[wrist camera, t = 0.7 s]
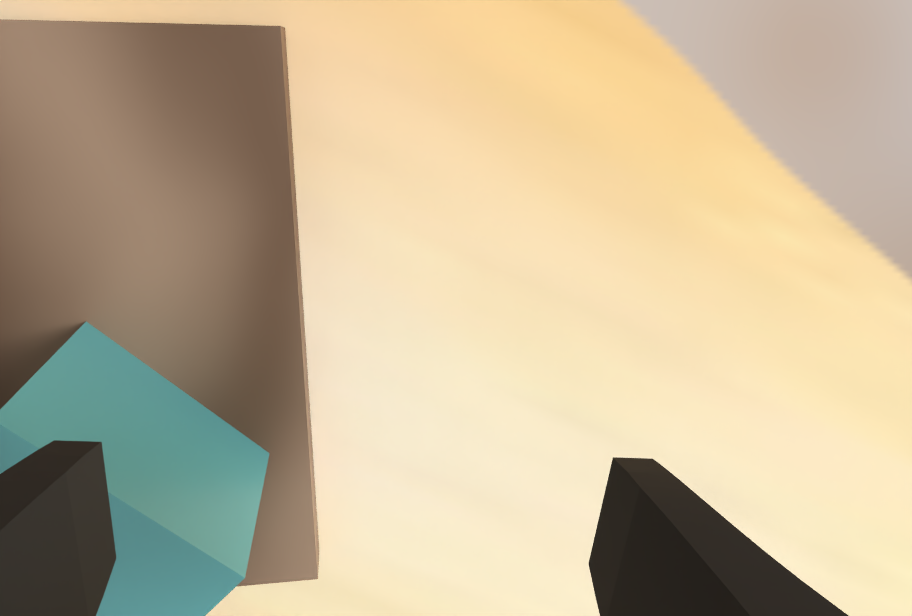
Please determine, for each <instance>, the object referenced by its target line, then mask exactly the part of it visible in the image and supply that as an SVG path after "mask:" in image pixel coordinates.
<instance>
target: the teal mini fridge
mask: <svg viewBox="0 0 912 616" xmlns="http://www.w3.org/2000/svg"><path fill="white" fill-rule="evenodd" d="M54 440H61V441H94V442H102V449H103V456H104V464H105V472H106V480H107V488H108V495H109V503H110V511H111V519H112V527H113V535H114V542H115V550H116V561H115V564H114V567H113V570H112V573H111V575H110V578H109V581H108V584H107V587H106V590H105V593H104V596H103V598H102V601H101V604H100V606H99V609H98V612H97V614H96V616H205V615H206V614H207V613H208V612H209V611H211V610H212V609H213V608H214V607H215V606H216V605H217V604H218V603H219V602H220V601H221V600H222V599H223V598H224V597H225V596H226V595H227V594H229V593H230V592H231V591H232V590H233V589H234V588H235V587H236V586H237V585H238V584H239V583H240V582H241V581H242V580H243V579H244V578H245V575H246V570H247V565H248V560H249V555H250V550H251V545H252V540H253V535H254V530H255V524H256V519H257V514H258V509H259V504H260V499H261V494H262V489H263V484H264V479H265V474H266V469H267V464H268V459H269V453H268V452H267V451H266V450H264V449H263V448H261V447H260V446H259V445H257V444H256V443H255V442H253V441H252V440H250V439H249V438H248V437H246V436H245V435H243V434H242V433H241V432H239V431H238V430H236V429H235V428H234V427H232V426H231V425H230V424H228V423H227V422H225V421H224V420H223V419H221V418H220V417H218V416H217V415H216V414H214V413H213V412H211V411H210V410H209V409H207V408H206V407H205V406H203V405H202V404H200V403H199V402H198V401H196V400H195V399H193V398H192V397H191V396H189V395H188V394H186V393H185V392H184V391H182V390H181V389H179V388H178V387H177V386H175V385H174V384H173V383H171V382H170V381H168V380H167V379H166V378H164V377H163V376H161V375H160V374H159V373H157V372H156V371H154V370H153V369H152V368H150V367H149V366H148V365H146V364H145V363H143V362H142V361H141V360H139V359H138V358H136V357H135V356H134V355H132V354H131V353H129V352H128V351H127V350H125V349H124V348H123V347H121V346H120V345H118V344H117V343H116V342H114V341H113V340H111V339H110V338H109V337H107V336H106V335H104V334H103V333H102V332H100V331H99V330H98V329H96V328H95V327H93V326H92V325H91V324H89V323H88V322H85V323H84V324H83V325H82V326H81V327H80V328H79V329H78V330H77V331H76V332H75V333H74V334H73V335H72V336H71V337H70V338H69V340H68V341H67V342H66V343H65V344H64V345H63V346H62V347H61V348H60V349H59V350H58V351H57V352H56V353H55V354H54V355H53V356H52V357H51V358H50V359H49V360H48V361H47V362H46V363H45V364H44V365H43V366H42V367H41V368H40V369H39V370H38V371H37V372H36V373H35V374H34V375H33V376H32V377H31V378H30V379H29V380H28V382H27V383H26V384H25V385H24V386H23V387H22V388H21V389H20V390H19V391H18V392H17V393H16V394H15V395H14V396H13V397H12V398H11V399H10V400H9V401H8V402H7V403H6V404H5V405H4V406H3V407H2V408H1V409H0V474H1V473H2V472H4V471H5V470H7V469H9V468H10V467H12V466H13V465H15V464H16V463H18V462H19V461H21V460H22V459H24V458H26V457H27V456H29V455H30V454H32V453H34V452H35V451H37V450H38V449H40V448H42V447H44V446H45V445H47V444H49V443H50V442H52V441H54Z"/></svg>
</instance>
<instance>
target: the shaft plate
mask: <svg viewBox="0 0 912 616" xmlns="http://www.w3.org/2000/svg"><path fill="white" fill-rule="evenodd" d="M85 322H88V323H89V324H91V325H92V326H93V327H95V328H96V329H98V330H99V331H100V332H102V333H103V334H104V335H106V336H107V337H109V338H110V339H111V340H113V341H114V342H116V343H117V344H118V345H120V346H121V347H123V348H124V349H125V350H127V351H128V352H129V353H131V354H132V355H134V356H135V357H136V358H138V359H139V360H141V361H142V362H143V363H145V364H146V365H148V366H149V367H150V368H152V369H153V370H154V371H156V372H157V373H159V374H160V375H161V376H163V377H164V378H166V379H167V380H168V381H170V382H171V383H173V384H174V385H175V386H177V387H178V388H179V389H181V390H182V391H184V392H185V393H186V394H188V395H189V396H191V397H192V398H193V399H195V400H196V401H198V402H199V403H200V404H202V405H203V406H205V407H206V408H207V409H209V410H210V411H211V412H213V413H214V414H216V415H217V416H218V417H220V418H221V419H223V420H224V421H225V422H227V423H228V424H230V425H231V426H232V427H234V428H235V429H236V430H238V431H239V432H241V433H242V434H243V435H245V436H246V437H248V438H249V439H250V440H252V441H253V442H255V443H256V444H257V445H259V446H260V447H261V448H263V449H264V450H266V451H267V452H268V453H269V459H268V464H267V469H266V474H265V479H264V484H263V489H262V494H261V499H260V504H259V509H258V514H257V519H256V524H255V530H254V535H253V540H252V545H251V550H250V555H249V560H248V565H247V570H246V575H245V578H244V579H243V580H242V581H241V582H240V583H239V584H238V585H237V586H246V585H257V584H268V583H279V582H290V581H301V580H312V579H318V565H319V542H318V527H317V512H316V496H315V481H314V466H313V450H312V435H311V420H310V404H309V389H308V374H307V359H306V343H305V328H304V313H303V297H302V282H301V267H300V251H299V236H298V221H297V206H296V190H295V175H294V160H293V144H292V129H291V114H290V98H289V83H288V68H287V53H286V37H285V28H284V27H281V26H252V25H210V24H167V23H124V22H82V21H39V20H0V409H1V408H2V407H3V406H4V405H5V404H6V403H7V402H8V401H9V400H10V399H11V398H12V397H13V396H14V395H15V394H16V393H17V392H18V391H19V390H20V389H21V388H22V387H23V386H24V385H25V384H26V383H27V382H28V380H29V379H30V378H31V377H32V376H33V375H34V374H35V373H36V372H37V371H38V370H39V369H40V368H41V367H42V366H43V365H44V364H45V363H46V362H47V361H48V360H49V359H50V358H51V357H52V356H53V355H54V354H55V353H56V352H57V351H58V350H59V349H60V348H61V347H62V346H63V345H64V344H65V343H66V342H67V341H68V340H69V338H70V337H71V336H72V335H73V334H74V333H75V332H76V331H77V330H78V329H79V328H80V327H81V326H82V325H83V324H84V323H85Z"/></svg>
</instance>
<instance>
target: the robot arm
mask: <svg viewBox="0 0 912 616" xmlns="http://www.w3.org/2000/svg"><path fill="white" fill-rule="evenodd" d="M115 561H116V550H115V542H114V535H113V527H112V519H111V511H110V503H109V495H108V488H107V480H106V472H105V464H104V456H103V449H102V442H94V441H61V440H54V441H52V442H50V443H49V444H47V445H45V446H44V447H42V448H40V449H38V450H37V451H35V452H34V453H32V454H30V455H29V456H27V457H26V458H24V459H22V460H21V461H19V462H18V463H16V464H15V465H13V466H12V467H10V468H9V469H7V470H5V471H4V472H2V473H1V474H0V616H96V614H97V612H98V609H99V606H100V604H101V601H102V598H103V596H104V593H105V590H106V587H107V584H108V581H109V578H110V575H111V573H112V570H113V567H114V564H115ZM589 568H590V572H591V577H592V582H593V586H594V591H595V596H596V600H597V604H598V609H599V613H600V616H848V615H847V614H845V613H844V612H843V611H841V610H840V609H839V608H837V607H836V606H835V605H833V604H832V603H831V602H829V601H828V600H827V599H825V598H824V597H823V596H821V595H820V594H819V593H817V592H816V591H815V590H813V589H812V588H811V587H809V586H808V585H807V584H805V583H804V582H803V581H801V580H800V579H799V578H797V577H796V576H795V575H794V574H792V573H791V572H790V571H789V570H787V569H786V568H785V567H783V566H782V565H781V564H780V563H778V562H777V561H776V560H775V559H773V558H772V557H771V556H770V555H768V554H767V553H766V552H765V551H763V550H762V549H761V548H760V547H759V546H757V545H756V544H755V543H754V542H753V541H751V540H750V539H749V538H748V537H746V536H745V535H744V534H743V533H742V532H740V531H739V530H738V529H737V528H736V527H734V526H733V525H732V524H731V523H730V522H728V521H727V520H726V519H725V518H724V517H723V516H721V515H720V514H719V513H718V512H717V511H715V510H714V509H713V508H712V507H711V506H710V505H708V504H707V503H706V502H705V501H704V500H703V499H701V498H700V497H699V496H698V495H697V494H695V493H694V492H693V491H692V490H691V489H690V488H688V487H687V486H686V485H685V484H684V483H682V482H681V481H680V480H679V479H678V478H676V477H675V476H674V475H673V474H672V473H670V472H669V471H668V470H667V469H665V468H664V467H663V466H661V465H660V464H659V463H657V462H656V461H655V460H653V459H642V458H613V460H612V464H611V469H610V473H609V477H608V482H607V486H606V490H605V495H604V499H603V503H602V508H601V512H600V517H599V521H598V525H597V530H596V534H595V538H594V543H593V547H592V551H591V556H590V560H589Z"/></svg>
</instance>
